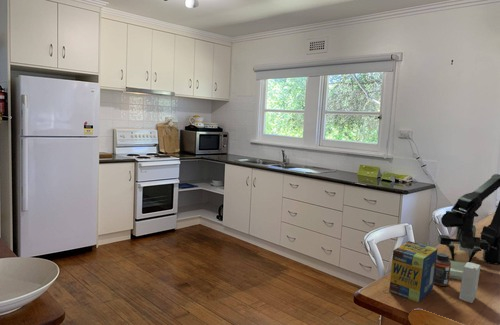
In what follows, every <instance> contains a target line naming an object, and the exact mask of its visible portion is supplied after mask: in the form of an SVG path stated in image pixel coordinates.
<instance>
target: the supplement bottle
mask: <svg viewBox="0 0 500 325" xmlns="http://www.w3.org/2000/svg"><path fill="white" fill-rule="evenodd" d="M449 258H450V255H449V254H447V253H444V252H437V258H436V267H435V275H434V283H433V285H435V286H441V287H447V286H449V282H450V278H449V277H450V268H451V262H450V261H451V260H450V261H449Z"/></svg>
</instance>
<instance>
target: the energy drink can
mask: <svg viewBox="0 0 500 325" xmlns="http://www.w3.org/2000/svg"><path fill="white" fill-rule="evenodd" d="M472 231H473V237H476V231H477V228H476V224H475V223H473V230H472ZM457 248H458V249H457V251H459V250H462V251H465V252H466V253H467V254H468V255H469V250H470V248H462V247H461V244H458V247H457Z"/></svg>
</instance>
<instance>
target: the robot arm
mask: <svg viewBox="0 0 500 325" xmlns="http://www.w3.org/2000/svg"><path fill="white" fill-rule="evenodd" d="M499 188H500V174H499V173H495V174H492V176H491V178H489V179H488V180H486V181H484V183H483V184H481V185H480V186H479V187H478V188H476V189H475V190H473V191H472V192H468V193H465V194H463V195H462V196H460V197H459V198H458V199H457V201H456V203H455V204H454V205H453V206H452V208H451V210H446V211H445V213H444V214H442V216H441V217H440V218H441V219H440V220H441V224H442V226H443V227H444V228H456V235H455V238H451V237H450V236H449V235H444V234H439V235H438V237H437V241H438V243H439V244H440V245H443V246H446V247H447V248H448V249H449V253H450V258H452V260H451V261H455V260H454V253H455V249H456V246H455V245H454V244H456V245H457V244H458V245H459V244H461V247H462V248H470V250H469V261H468V262H472V261H473V258H474V256H475V255H476V254H477V253H478V252H481V251H482V259H483V261H485V263H486V264H493V265H500V200H499V201H498V204H497V207H496V209H495V211H494V214H493V216H492V219H491V222H490V224H489V225H487V226H485V225H484V226H483V228H482V231H481V232H480V236H475V237H473V231H472V230H473V224H474V221H475V217H477V218H478V217H479V214H478V213H477V211H478V209H480V208H481V206H482V205H483V201H484V200H486V199H487V198H488V197H489V196H490V195H492V194H493V193H494V192H495V191H497V190H498V189H499Z"/></svg>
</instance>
